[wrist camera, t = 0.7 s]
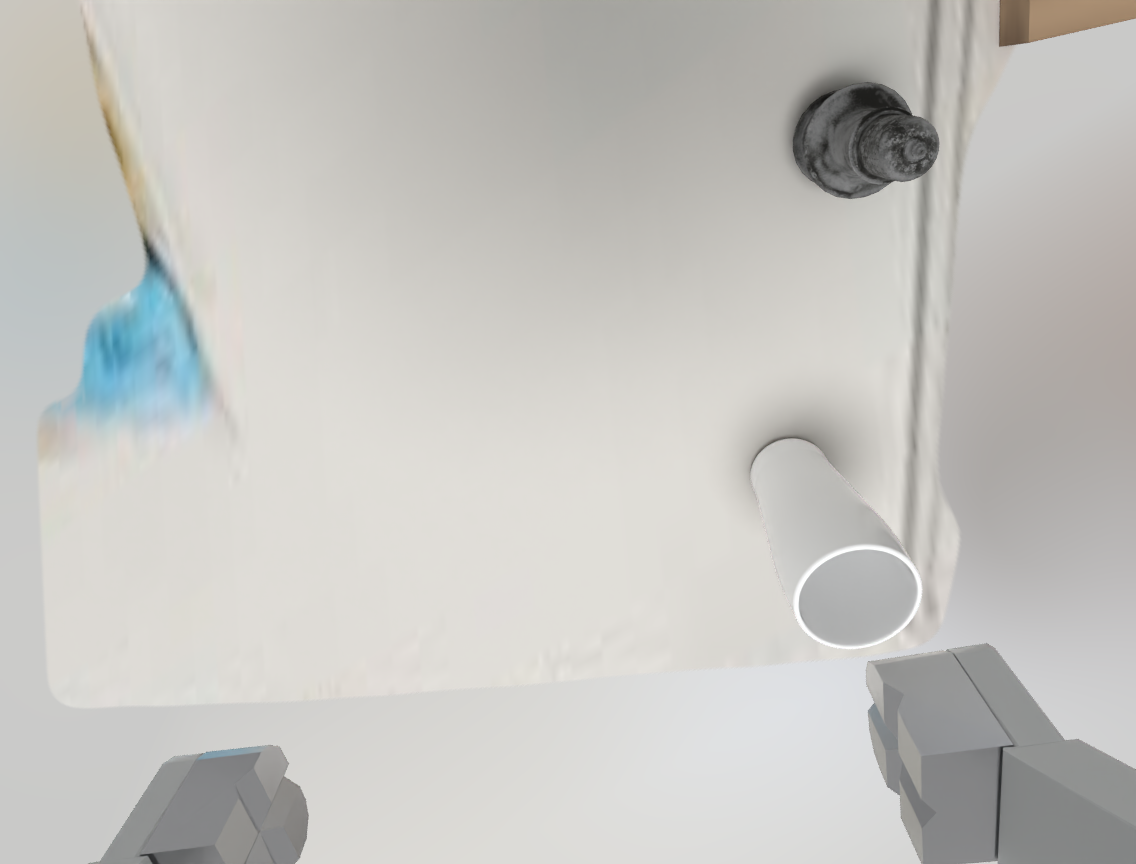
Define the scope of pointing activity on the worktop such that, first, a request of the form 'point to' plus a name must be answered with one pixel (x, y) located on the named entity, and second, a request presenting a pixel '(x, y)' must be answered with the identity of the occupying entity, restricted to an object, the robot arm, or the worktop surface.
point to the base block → (1058, 17)
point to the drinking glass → (832, 550)
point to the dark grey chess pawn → (862, 141)
